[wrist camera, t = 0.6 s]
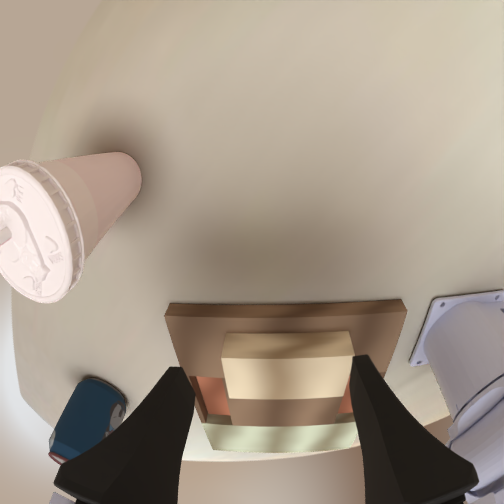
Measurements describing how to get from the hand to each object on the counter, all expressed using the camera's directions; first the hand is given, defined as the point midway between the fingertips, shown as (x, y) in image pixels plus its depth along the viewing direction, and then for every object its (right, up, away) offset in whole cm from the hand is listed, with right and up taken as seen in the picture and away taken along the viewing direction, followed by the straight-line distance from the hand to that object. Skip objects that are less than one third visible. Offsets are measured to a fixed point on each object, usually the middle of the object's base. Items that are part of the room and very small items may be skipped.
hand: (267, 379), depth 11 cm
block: (+2, -3, +10) cm, 11 cm away
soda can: (-19, -12, +19) cm, 29 cm away
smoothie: (-10, +10, +6) cm, 15 cm away
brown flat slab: (+3, -9, +15) cm, 18 cm away
